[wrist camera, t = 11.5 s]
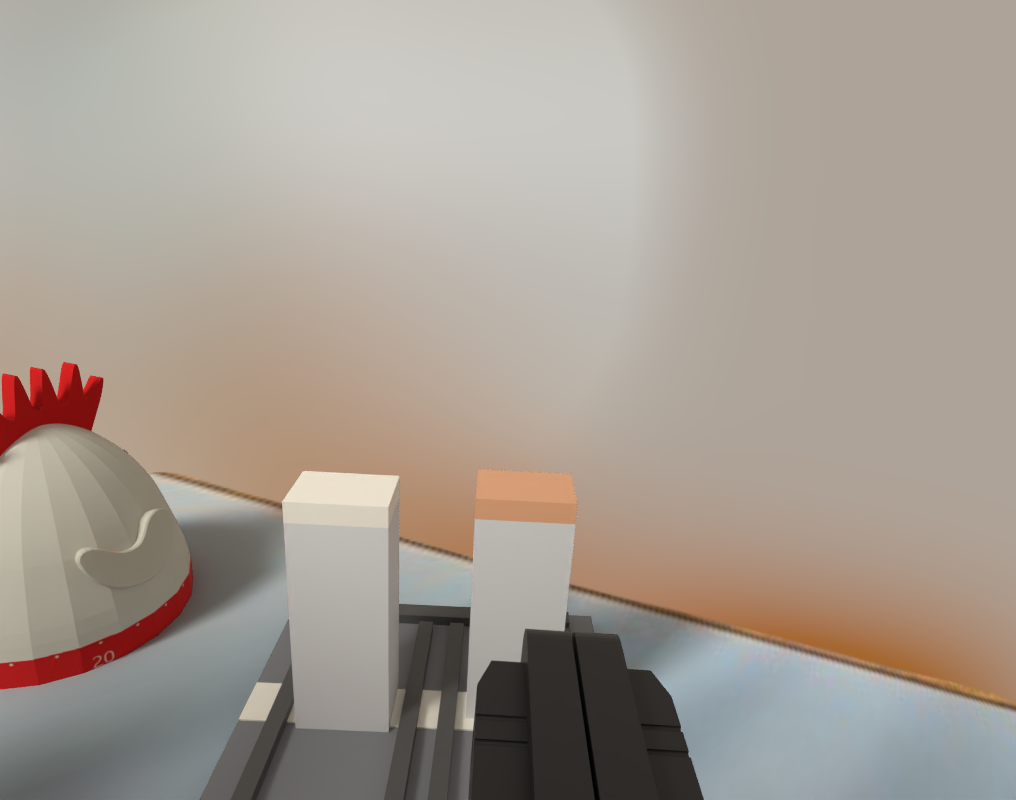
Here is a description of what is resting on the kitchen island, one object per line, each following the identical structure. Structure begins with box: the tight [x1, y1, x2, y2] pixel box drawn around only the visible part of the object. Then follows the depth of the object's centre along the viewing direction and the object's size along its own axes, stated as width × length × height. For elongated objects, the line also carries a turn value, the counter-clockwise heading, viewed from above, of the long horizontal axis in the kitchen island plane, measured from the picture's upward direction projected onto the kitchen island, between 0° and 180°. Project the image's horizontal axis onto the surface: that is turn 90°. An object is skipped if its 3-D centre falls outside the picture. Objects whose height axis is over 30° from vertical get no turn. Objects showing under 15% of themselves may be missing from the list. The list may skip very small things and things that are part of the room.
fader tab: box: [466, 469, 577, 718], centre depth 32 cm, size 4×3×12 cm
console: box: [200, 471, 594, 800], centre depth 27 cm, size 18×25×13 cm
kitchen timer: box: [0, 362, 193, 689], centre depth 38 cm, size 14×14×15 cm
